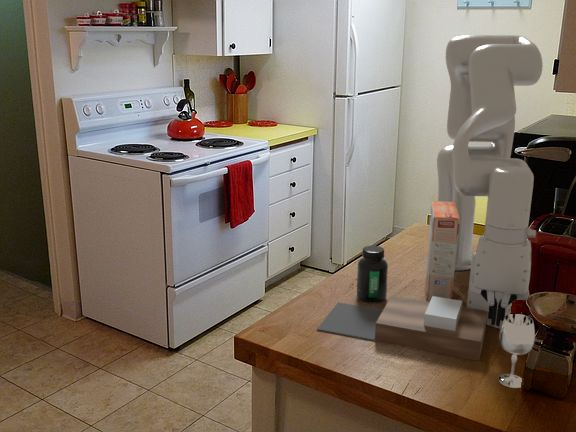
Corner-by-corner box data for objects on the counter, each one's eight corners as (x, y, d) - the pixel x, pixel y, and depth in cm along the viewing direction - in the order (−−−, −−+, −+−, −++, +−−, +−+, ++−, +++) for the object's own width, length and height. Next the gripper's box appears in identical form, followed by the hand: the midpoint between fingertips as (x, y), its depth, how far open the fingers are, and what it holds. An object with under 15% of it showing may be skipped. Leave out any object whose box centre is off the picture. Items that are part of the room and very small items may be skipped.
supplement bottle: (378, 306, 137) (381, 256, 134) (351, 299, 141) (353, 250, 137) (390, 295, 143) (393, 247, 139) (364, 289, 146) (366, 242, 143)
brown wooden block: (390, 312, 134) (391, 295, 133) (485, 328, 127) (487, 311, 126) (374, 341, 122) (375, 322, 121) (479, 360, 114) (480, 341, 113)
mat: (337, 303, 139) (337, 302, 138) (390, 312, 134) (390, 311, 134) (317, 330, 126) (317, 328, 126) (373, 340, 122) (373, 339, 122)
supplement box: (464, 318, 132) (470, 252, 127) (482, 304, 138) (489, 242, 134) (504, 331, 126) (512, 263, 121) (522, 317, 132) (530, 252, 128)
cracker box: (452, 307, 136) (460, 218, 130) (425, 305, 138) (431, 216, 132) (449, 283, 150) (456, 201, 144) (424, 281, 151) (430, 199, 145)
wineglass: (489, 373, 110) (495, 312, 107) (519, 371, 111) (527, 311, 107) (502, 391, 105) (509, 327, 101) (534, 389, 105) (543, 326, 102)
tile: (431, 307, 127) (432, 296, 127) (461, 311, 125) (462, 300, 125) (423, 325, 120) (424, 313, 119) (455, 331, 117) (456, 319, 117)
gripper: (549, 232, 114) (537, 321, 119) (466, 223, 119) (458, 308, 125) (549, 244, 107) (536, 338, 112) (461, 234, 113) (453, 324, 118)
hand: (495, 322), depth 118 cm, fingers closed
